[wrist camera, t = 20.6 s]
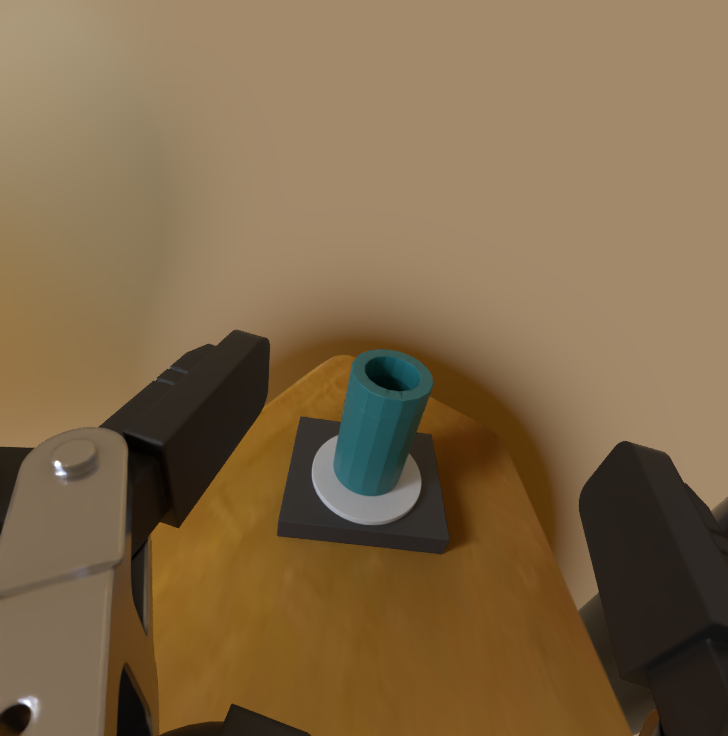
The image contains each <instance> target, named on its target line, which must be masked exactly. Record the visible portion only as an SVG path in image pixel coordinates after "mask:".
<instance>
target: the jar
mask: <svg viewBox="0 0 728 736" xmlns="http://www.w3.org/2000/svg"><path fill="white" fill-rule="evenodd" d="M432 387H433V379H432V375H431V373H430V371H429V370H428V369H427V368H426V366H425V365H424V364H422V363H421V362H419V361H418V360H416V359H415V358H413V357H412V356H409V355H407V354H404V353H401V352H398V351H392V350H386V349H380V350H370V351H367V352H365V353H362V354H360V355H358V357H357V358H356V359H355V360H354V361H353V363H352V367H351V372H350V377H349V383H348V388H347V393H346V398H345V403H344V408H343V413H342V419H341V424H340V429H339V434H338V439H337V444H336V449H335V455H334V462H333V468H334V472H335V475H336V477H337V479H338V480H339V481H340V483H341V484H342V485H343V486H345V487H346V488H347V489H349V490H350V491H352V492H354V493H356V494H359V495H363V496H380V495H383V494H386V493H388V492H389V491H391V490H392V489H393V488H394V487H395V486H396V485H397V483H398V481H399V479H400V476H401V474H402V471H403V468H404V466H405V463H406V460H407V457H408V454H409V452H410V449H411V446H412V443H413V440H414V438H415V435H416V432H417V429H418V426H419V424H420V421H421V418H422V415H423V412H424V410H425V407H426V404H427V401H428V398H429V396H430V393H431V390H432Z"/></svg>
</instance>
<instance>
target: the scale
mask: <svg viewBox="0 0 728 736" xmlns="http://www.w3.org/2000/svg"><path fill="white" fill-rule="evenodd" d="M340 424H341V422H337V421H330V420H322V419H315V418H308V417H300V421H299V425H298V430H297V435H296V440H295V444H294V449H293V454H292V458H291V463H290V468H289V473H288V477H287V482H286V487H285V492H284V496H283V501H282V506H281V510H280V515H279V520H278V531H277V536H283V537H292V538H301V539H310V540H320V541H329V542H338V543H347V544H356V545H365V546H374V547H383V548H392V549H401V550H411V551H420V552H429V553H438V554H442V553H443V551H444V550H445V548H446V546H447V544H448V542H449V541H450V539H449V533H448V527H447V522H446V516H445V510H444V504H443V498H442V492H441V487H440V481H439V475H438V469H437V463H436V457H435V452H434V446H433V440H432V435H431V434H424V433H417V432H416V435H415V438H414V440H413V443H412V446H411V449H410V452H409V454H408V457H407V460H406V463H405V466H404V468H403V471H402V474H401V476H400V479H399V481H398V483H397V485H396V486H395V487H394V488H393V489H392V490H391V491H389V492H388V493H386V494H383V495H380V496H363V495H359V494H356V493H354V492H352V491H350V490H349V489H347V488H346V487H345V486H343V485H342V484H341V483H340V481H339V480H338V479H337V477H336V475H335V472H334V468H333V462H334V455H335V449H336V444H337V439H338V434H339V429H340Z"/></svg>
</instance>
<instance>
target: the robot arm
mask: <svg viewBox="0 0 728 736" xmlns="http://www.w3.org/2000/svg"><path fill="white" fill-rule="evenodd" d="M269 357H270V343H269V340H268V339H267V338H264V337H261V336H257V335H254V334H250V333H247V332H244V331H240V330H234V331H232V332H231V333H230V334H229V335H228V336H227V337H226V338H224V339H223V340H222V341H221V342H220V343H219V344H218V345H217V346H214V345H211V344H207V345H204V346H202V347H199V348H197V349H194V350H192V351H189V352H187V353H186V354H184V355H183V356H182V357H181V358H180V359H179V360H177V361H176V362H175V363H174V364H173V365H171V367H170V369H167V370H166V371H164V372H163V373H162V374H161V375H160V376H158V377H157V380H156V381H153V382H152V383H150V384H149V385H148V386H147V387H145V388H144V389H143V390H142V391H141V392H140V393H138V394H137V395H136V396H135V397H134V398H132V399H131V400H130V401H129V402H128V403H126V404H125V405H124V406H123V407H122V408H121V409H119V410H118V411H117V412H116V413H115V414H113V415H112V416H111V417H110V418H109V419H107V420H106V421H105V422H104V423H103V424H102V425H100V426H99V427H86V428H78V429H73V430H69V431H66V432H63V433H60V434H58V435H55V436H53V437H51V438H49V439H47V440H45V441H44V442H42V443H41V444H39V445H38V446H37V447H36V448H20V447H0V736H311V735H310V734H308V733H307V732H304V731H302V730H299V729H297V728H294V727H291V726H289V725H286V724H284V723H281V722H279V721H276V720H273V719H271V718H268V717H266V716H263V715H260V714H258V713H255V712H253V711H250V710H247V709H245V708H242V707H240V706H237V705H235V704H231V706H230V709H229V711H228V714H227V716H226V718H225V721H224V722H204V723H198V724H192V725H187V726H184V727H181V728H178V729H174V730H171V731H168V732H166V733H163V734H161V735H159V698H158V680H157V669H156V661H155V655H154V644H153V596H152V541H151V535H150V534H151V532H152V531H153V530H154V529H155V527H156V526H157V525H158V523H159V522H162V523H165V524H168V525H171V526H173V527H176V528H179V527H180V526H181V524H182V523H183V521H184V520H185V519H186V517H187V516H188V514H189V513H190V512H191V510H192V509H193V507H194V506H195V505H196V503H197V502H198V500H199V499H200V498H201V496H202V495H203V493H204V492H205V491H206V489H207V488H208V486H209V485H210V483H211V482H212V481H213V479H214V478H215V476H216V475H217V474H218V472H219V471H220V469H221V468H222V467H223V465H224V464H225V462H226V461H227V460H228V458H229V457H230V455H231V454H232V452H233V451H234V450H235V448H236V447H237V445H238V444H239V443H240V441H241V440H242V438H243V437H244V436H245V434H246V433H247V431H248V430H249V429H250V427H251V426H252V424H253V423H254V422H255V420H256V419H257V417H258V416H259V414H260V413H261V411H262V409H263V407H264V404H265V401H266V398H267V394H268V380H269ZM579 512H580V517H581V521H582V525H583V529H584V533H585V537H586V541H587V545H588V549H589V553H590V557H591V561H592V565H593V569H594V573H595V577H596V581H597V585H598V589H599V594H600V598H601V602H602V606H603V610H604V614H605V618H606V622H607V626H608V630H609V634H610V638H611V642H612V646H613V650H614V654H615V658H616V662H617V666H618V670H619V674H620V679H623V680H626V681H629V682H631V683H634V684H637V685H640V686H643V687H646V688H649V689H651V691H652V695H653V698H654V702H655V705H656V708H655V709H654V710H652V711H651V712H650V713H649V715H648V716H647V718H646V720H645V723H644V725H643V727H642V729H641V732H640V734H639V736H728V497H727V498H726V499H724V500H723V501H722V502H721V503H720V504H719V505H717V506H716V507H715V508H714V509H713V510H711V511H710V509H709V507H708V506H707V505H706V504H705V503H704V502H703V501H702V500H701V499H700V498H699V497H698V496H697V495H696V493H695V492H694V491H693V490H692V489H691V488H690V487H689V486H688V485H687V484H686V483H684V482H683V480H682V479H681V477H680V475H679V473H678V471H677V469H676V468H675V466H674V464H673V462H672V460H671V458H670V457H669V456H668V455H667V454H666V453H665V452H662V451H658V450H655V449H652V448H648V447H645V446H641V445H638V444H635V443H631V442H628V441H623V442H620V443H619V444H617V445H616V446H615V447H614V449H613V450H612V451H611V452H610V453H609V455H608V456H607V457H606V459H605V460H604V461H603V462H602V464H601V465H600V466H599V467H598V468H597V470H596V471H595V472H594V473H593V475H592V476H591V477H590V478H589V480H588V481H587V482H586V484H585V485H584V487H583V489H582V491H581V494H580V499H579Z"/></svg>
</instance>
